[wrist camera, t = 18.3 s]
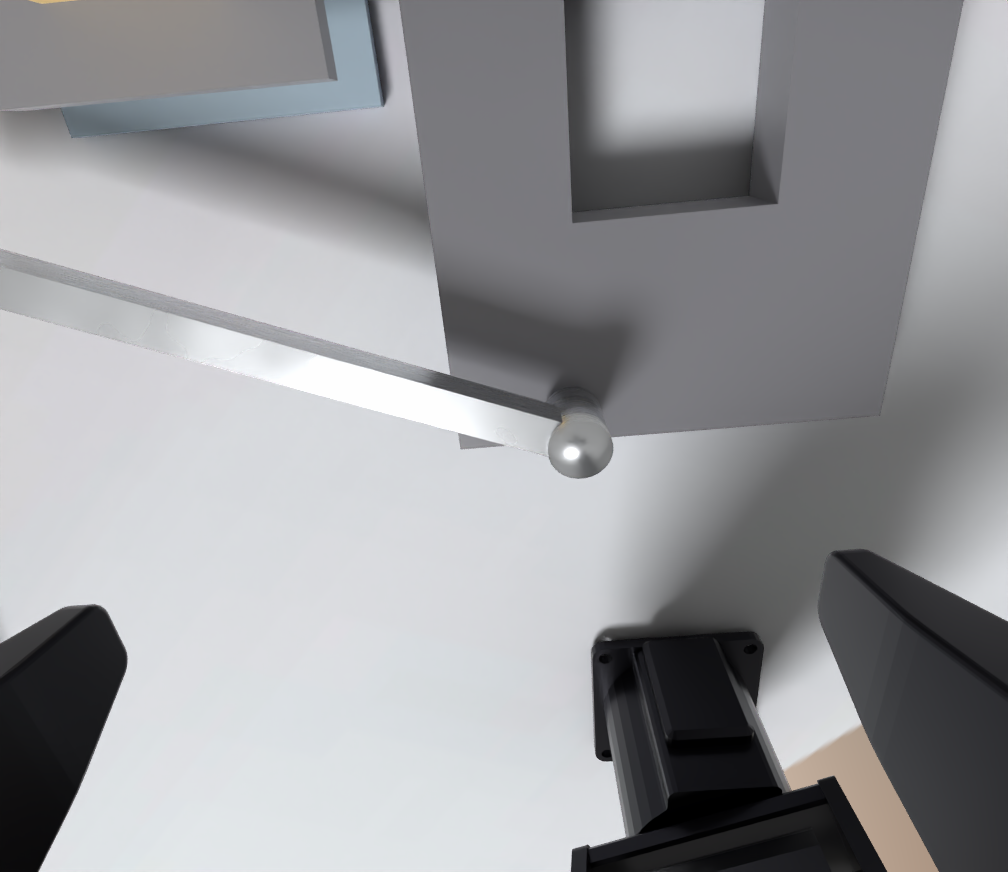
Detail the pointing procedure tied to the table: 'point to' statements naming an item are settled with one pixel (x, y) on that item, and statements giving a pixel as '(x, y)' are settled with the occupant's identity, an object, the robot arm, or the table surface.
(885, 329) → the socket plate
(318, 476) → the table surface
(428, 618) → the table surface
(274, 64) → the plug
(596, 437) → the metal lever bar
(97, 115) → the mat
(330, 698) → the table surface
